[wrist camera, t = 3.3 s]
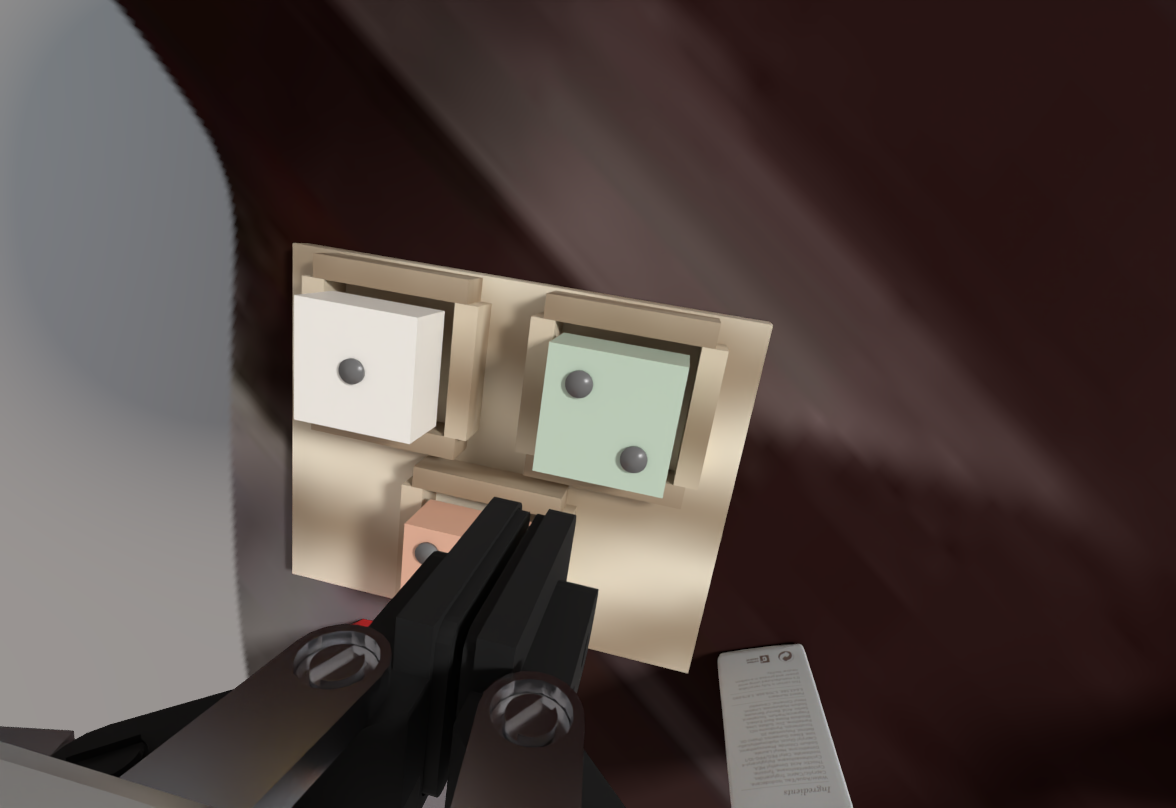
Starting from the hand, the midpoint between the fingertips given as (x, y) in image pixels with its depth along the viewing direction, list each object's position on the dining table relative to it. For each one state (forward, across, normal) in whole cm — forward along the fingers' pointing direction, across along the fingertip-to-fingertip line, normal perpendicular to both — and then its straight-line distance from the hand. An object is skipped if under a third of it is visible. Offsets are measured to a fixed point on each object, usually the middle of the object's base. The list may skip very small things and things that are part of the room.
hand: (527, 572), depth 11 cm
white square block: (+12, +10, 0) cm, 16 cm away
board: (+15, +5, +4) cm, 16 cm away
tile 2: (+12, 0, 0) cm, 12 cm away
